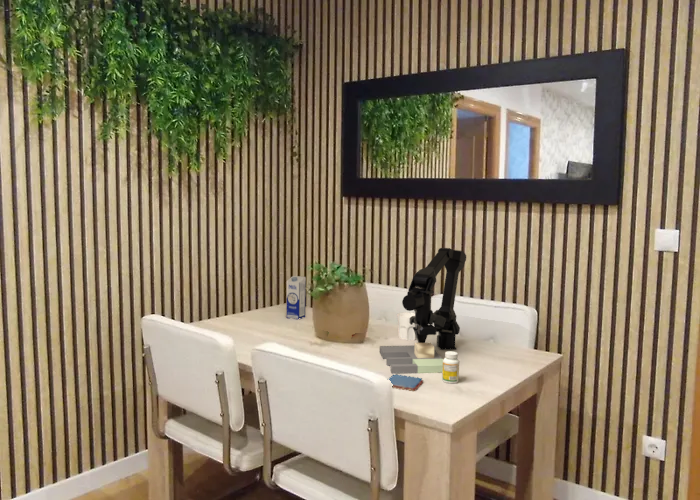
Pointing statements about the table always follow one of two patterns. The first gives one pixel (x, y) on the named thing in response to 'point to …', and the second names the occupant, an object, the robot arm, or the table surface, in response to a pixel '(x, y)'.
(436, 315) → the robot arm
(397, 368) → the board
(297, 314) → the milk carton
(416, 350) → the maple block
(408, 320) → the cup
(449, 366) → the supplement bottle
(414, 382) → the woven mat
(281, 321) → the table surface
